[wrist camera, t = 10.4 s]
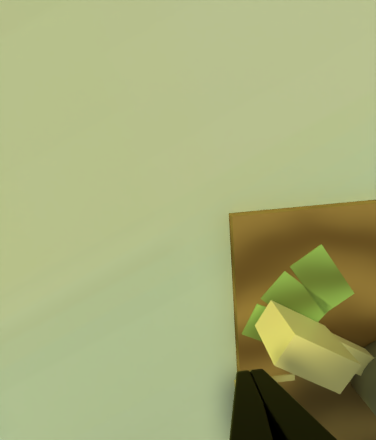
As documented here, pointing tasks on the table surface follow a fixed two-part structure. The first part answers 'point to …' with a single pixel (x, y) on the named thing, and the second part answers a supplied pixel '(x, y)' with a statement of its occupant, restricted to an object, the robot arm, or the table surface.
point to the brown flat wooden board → (308, 294)
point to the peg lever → (317, 352)
